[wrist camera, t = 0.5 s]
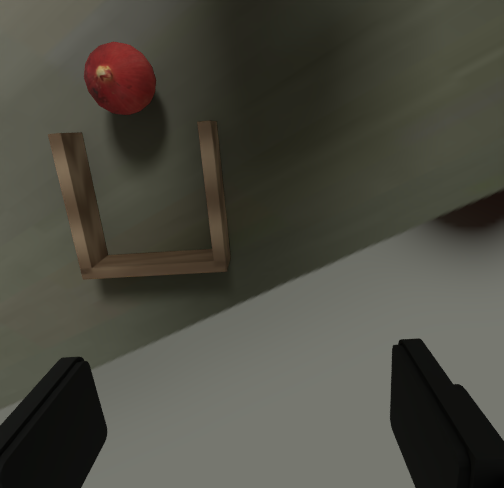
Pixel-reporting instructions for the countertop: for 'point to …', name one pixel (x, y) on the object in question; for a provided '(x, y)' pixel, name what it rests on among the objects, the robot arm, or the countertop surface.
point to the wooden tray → (90, 228)
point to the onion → (119, 78)
